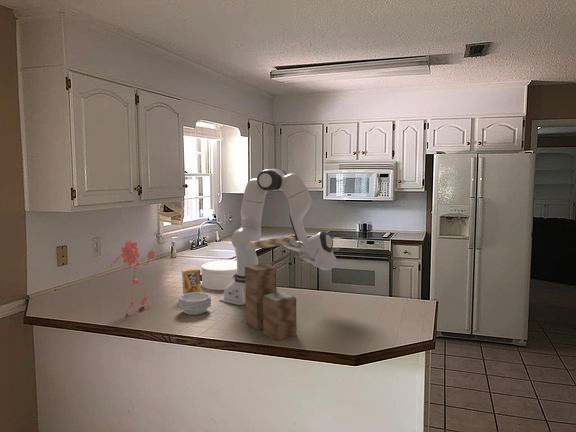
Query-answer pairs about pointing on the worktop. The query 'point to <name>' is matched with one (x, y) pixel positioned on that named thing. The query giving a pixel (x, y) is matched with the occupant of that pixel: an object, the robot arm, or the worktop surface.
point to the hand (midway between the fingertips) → (286, 239)
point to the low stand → (279, 315)
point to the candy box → (191, 281)
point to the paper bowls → (194, 303)
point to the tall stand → (258, 291)
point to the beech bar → (270, 242)
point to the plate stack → (218, 274)
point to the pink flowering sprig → (130, 257)
